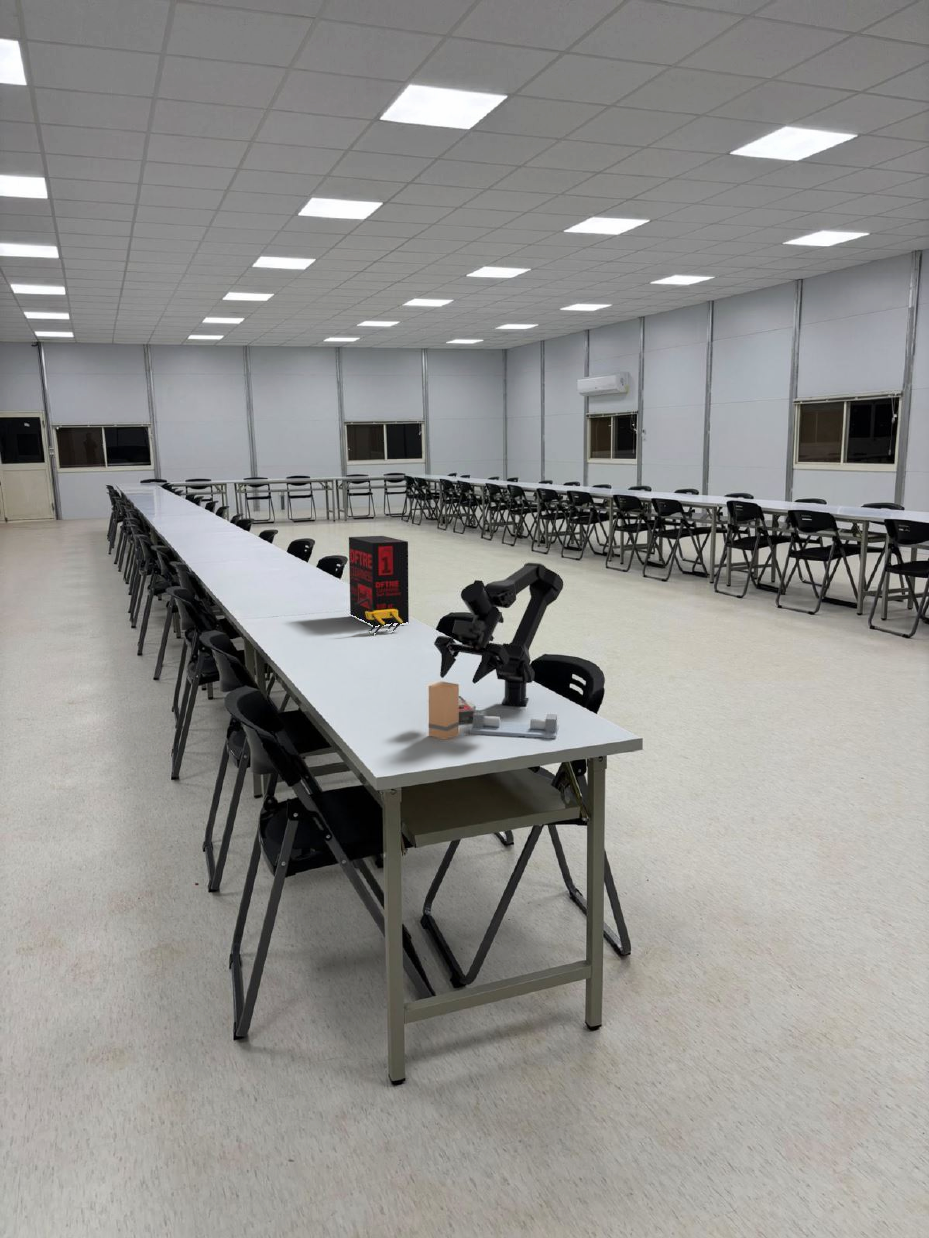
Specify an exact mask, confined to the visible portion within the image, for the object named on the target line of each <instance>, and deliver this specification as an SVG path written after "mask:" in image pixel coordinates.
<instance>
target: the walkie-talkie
mask: <svg viewBox="0 0 929 1238" xmlns="http://www.w3.org/2000/svg"><path fill="white" fill-rule="evenodd" d="M476 710H477V707H476V704H474V703H473V701H466V699H464V698H463V696H461V695H459V724H462V723H463V722H464V723H473V714H474V712H475V711H476Z"/></svg>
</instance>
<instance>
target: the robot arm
mask: <svg viewBox="0 0 929 1238" xmlns="http://www.w3.org/2000/svg"><path fill="white" fill-rule="evenodd" d="M528 587H529V588H528ZM526 588H528V589H529V590H528V591H529V595H530V599H529V602H528V603H527V606H526V608H525V610H524V613H523V615H522V617H521V619H520V622H519V624H518V627H517V629H516V631H515V634H514V637H513V638H512V640H511V642H509V643H494V642H493V641H494V639H495V638H494V636H493V634H494V632H495V630H496V627H497V626H498V623H500V624H504V622H505V621H504V620H505V619H504V617H503V612H502V611H500V610H499V608H500V609H501V608H503V609H509V608H510V607H511V606H513V604H514V603H515V602H516V600H517V595H519V593H521V592H522V591H523V590H526ZM563 588H564V580H563V578H562V577H561V576H560V574H558V573H556V572H555V571H553V570H551V569H549V568H548V567H546V566H545V565H544V564H542V563H539V562H538V563H537V562H527V563H525V564H524V565H523V566H522V567H521V568H520V569H518V570H517V571H515V572H514V573H512V574H511V575H509V576H508V577H506V578H505V579H503V580H502V579H501V580H495V581H492V582H489V583H487V584H485V583H484V581H483V580H478V579H475V580H474V581H473V583H470V584H468V585H467V586H465V587H464V588H462V590H461V592H460V597H461V599H462V601H463V603H464V604H465V606H466V608H467V609H468V610H469V612H470V614H472V615H473V616H474V618H473V619H472V622H471V621H468V620H467V621H466V620H459V619H455V620H454V623H453V624H454V625H453V626H452V627H453V628H452V631H451V632H452V634H454V635H457V636H458V640H459V641H460V642H461V643H457V642H456V641H455V640H454V638H453V637H452V636H446V635H439V636H437V637H436V639H435V641H434V642H433V644H434V646H435V647H436V648H437V650H438V652H439V653H440V654H441V657H440V658H441V662H440V673H439V676H440V678H442V679H443V678H445V677H446V675H447V674H448V672H449V671H450V670H451V668H452V667H453V665H454V664H455V663H456V660H457V659H456V657H458V656H459V653H461V654H462V653H464V654H470V655H475V656H480V657H481V659H480V663H479V665H478V667H477V669H476V671H475V673H474V675H473V678H472V681H471V682H472V683H473V684H476V683H478V682H479V681H481V680H482V679H483V678H485V677H486V676H487V675H489V674H490V673H492V672H494V671H495V673H496V677H497V678H496V679H497V680H502V681H504V698H503V699H502V702H501V705H502V706H503V705H504V706H515V707H516V706H517V707H527V704H528V702H529V700H530V698H529V697H527V684H531V683H533V681H534V680H535V674H536V672H535V670H534V669H533V667H532V666H531V656H530V648H531V647H532V646H531V645H532V643H533V640H534V638H535V636H536V634H537V632H538V629H539V626H540V625H541V622H542V620H543V617H544V616H545V615H544V614H546V613H545V612H546V610H547V608H548V606H550V605H551V604H552V603H553V602H555V601H556V600H557V599H558V598H559V596H560V594H561V593H562V590H563Z"/></svg>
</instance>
